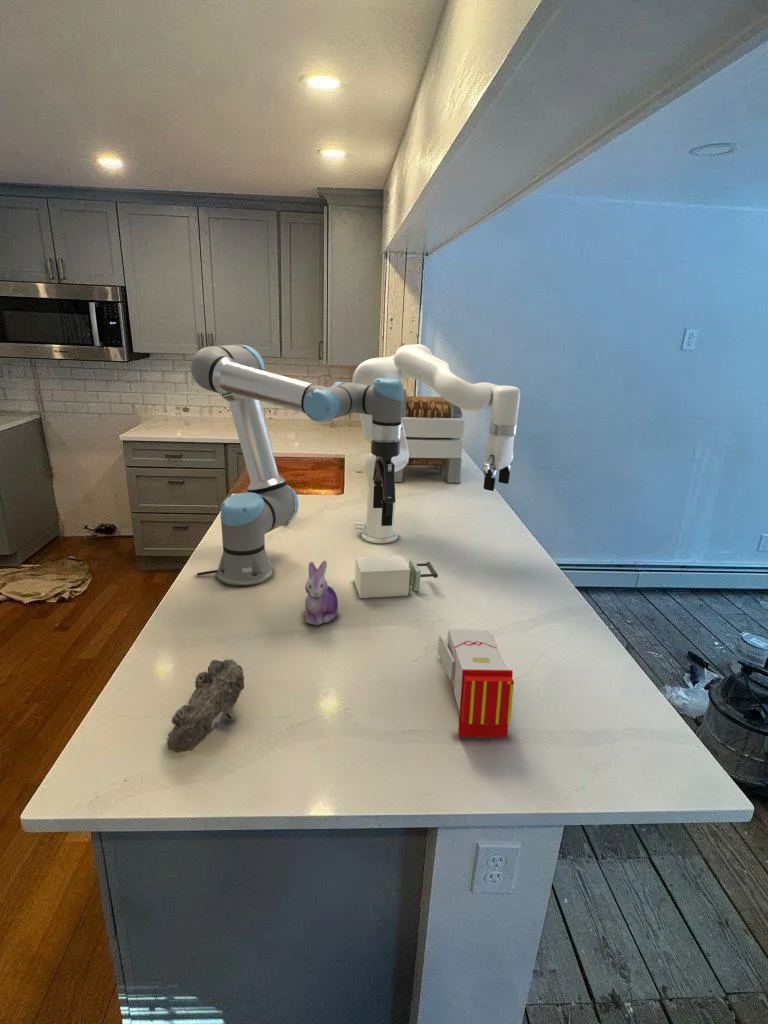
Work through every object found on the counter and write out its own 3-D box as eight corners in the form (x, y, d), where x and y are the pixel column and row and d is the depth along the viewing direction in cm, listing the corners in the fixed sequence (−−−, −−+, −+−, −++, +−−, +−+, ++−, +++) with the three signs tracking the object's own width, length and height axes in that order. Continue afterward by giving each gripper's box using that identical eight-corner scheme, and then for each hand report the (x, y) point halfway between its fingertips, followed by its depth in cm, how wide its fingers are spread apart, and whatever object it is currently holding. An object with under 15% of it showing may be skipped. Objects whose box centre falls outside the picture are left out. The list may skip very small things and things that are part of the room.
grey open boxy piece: (382, 463, 289) (386, 382, 275) (445, 464, 293) (451, 384, 279) (390, 482, 257) (394, 392, 243) (460, 483, 261) (468, 394, 247)
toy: (488, 613, 130) (523, 677, 101) (484, 667, 133) (517, 744, 104) (435, 612, 130) (455, 676, 101) (432, 666, 133) (451, 743, 103)
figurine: (310, 630, 138) (310, 574, 133) (296, 610, 147) (296, 557, 141) (346, 622, 142) (347, 568, 137) (330, 603, 151) (331, 552, 146)
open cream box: (400, 579, 166) (402, 555, 163) (408, 595, 157) (410, 569, 155) (354, 582, 163) (355, 557, 161) (360, 598, 155) (360, 571, 152)
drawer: (429, 576, 167) (430, 557, 165) (437, 589, 159) (438, 570, 157) (370, 579, 163) (370, 560, 161) (375, 593, 156) (376, 573, 154)
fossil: (192, 660, 117) (244, 628, 112) (224, 691, 120) (276, 661, 115) (142, 746, 98) (202, 712, 93) (182, 779, 101) (242, 748, 96)
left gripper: (410, 451, 136) (405, 533, 144) (391, 429, 159) (387, 501, 167) (379, 451, 135) (376, 533, 142) (364, 429, 158) (361, 501, 165)
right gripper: (503, 424, 172) (497, 478, 178) (476, 431, 159) (471, 490, 165) (527, 427, 168) (519, 483, 174) (501, 436, 155) (494, 495, 161)
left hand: (382, 516), depth 154 cm, fingers open, 13 cm apart
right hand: (496, 486), depth 169 cm, fingers open, 9 cm apart
